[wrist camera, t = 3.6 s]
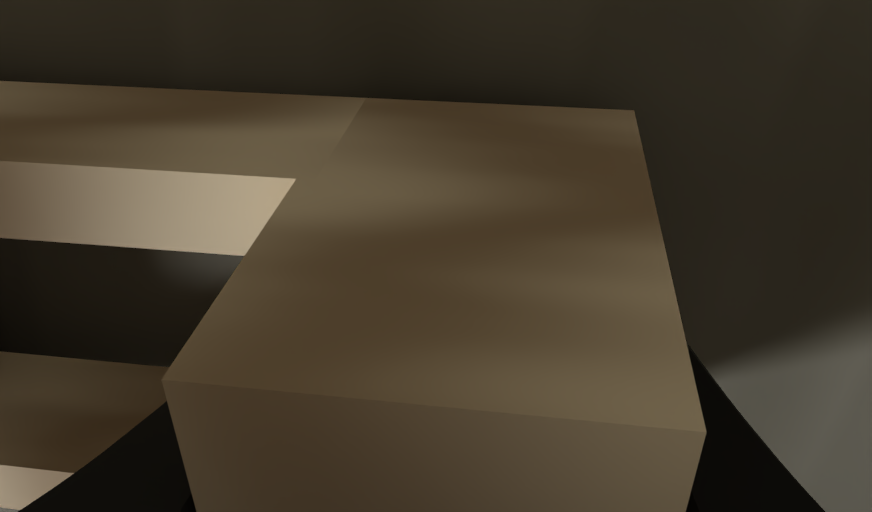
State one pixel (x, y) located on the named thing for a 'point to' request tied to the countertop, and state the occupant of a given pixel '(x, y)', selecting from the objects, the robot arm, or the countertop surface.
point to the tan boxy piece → (364, 301)
